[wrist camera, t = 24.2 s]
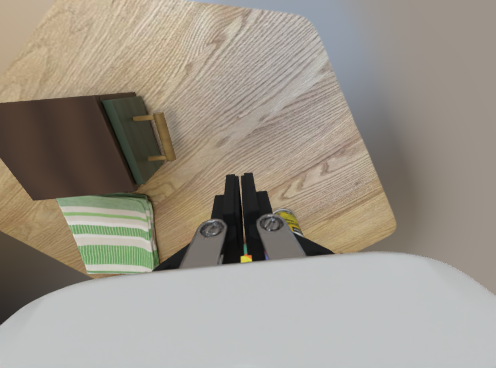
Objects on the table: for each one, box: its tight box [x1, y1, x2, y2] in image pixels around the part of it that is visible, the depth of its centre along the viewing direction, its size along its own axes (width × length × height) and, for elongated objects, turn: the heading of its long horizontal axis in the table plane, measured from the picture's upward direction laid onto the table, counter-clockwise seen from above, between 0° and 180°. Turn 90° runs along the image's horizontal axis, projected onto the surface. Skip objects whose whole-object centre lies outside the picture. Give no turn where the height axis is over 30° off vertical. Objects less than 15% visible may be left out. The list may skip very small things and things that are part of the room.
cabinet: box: [0, 92, 142, 200], centre depth 27 cm, size 15×13×10 cm
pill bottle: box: [273, 209, 304, 237], centre depth 38 cm, size 6×6×11 cm
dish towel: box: [56, 193, 160, 274], centre depth 41 cm, size 18×23×3 cm
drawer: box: [102, 96, 176, 185], centre depth 28 cm, size 18×11×8 cm, turn 94°
